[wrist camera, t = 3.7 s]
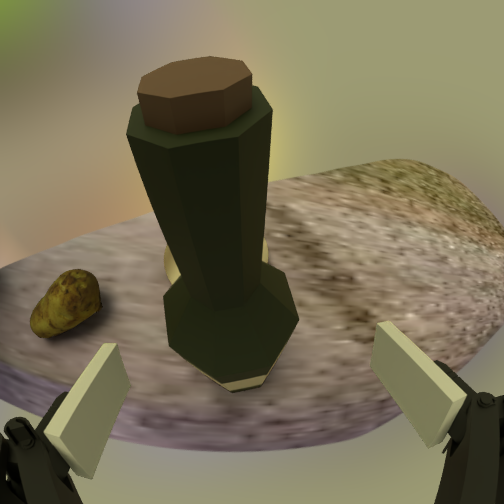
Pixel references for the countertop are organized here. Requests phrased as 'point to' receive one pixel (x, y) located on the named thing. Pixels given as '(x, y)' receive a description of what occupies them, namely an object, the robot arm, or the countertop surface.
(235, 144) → the wine bottle
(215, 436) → the countertop surface
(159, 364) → the countertop surface
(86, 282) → the potato
